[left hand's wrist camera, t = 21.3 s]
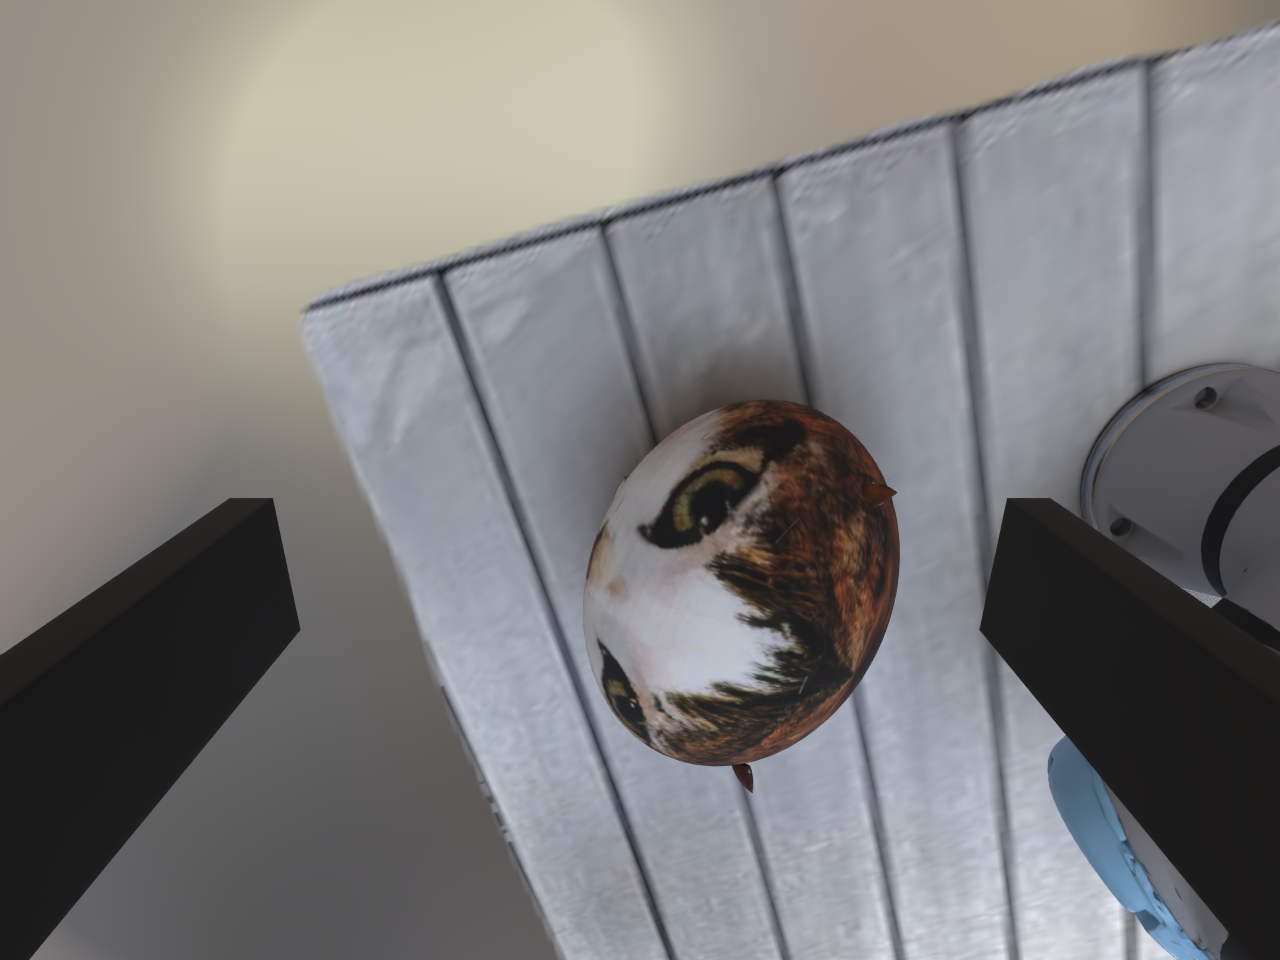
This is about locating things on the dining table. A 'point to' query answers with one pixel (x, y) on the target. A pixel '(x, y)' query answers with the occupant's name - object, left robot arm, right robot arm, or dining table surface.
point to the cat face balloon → (741, 583)
